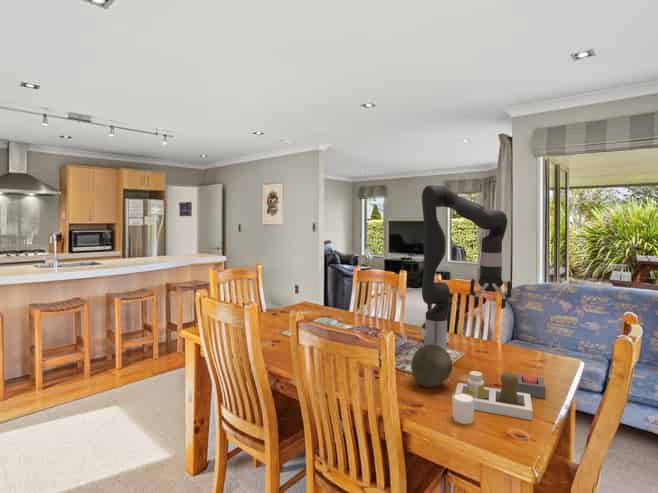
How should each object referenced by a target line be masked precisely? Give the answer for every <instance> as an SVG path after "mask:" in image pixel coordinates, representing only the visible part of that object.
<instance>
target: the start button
mask: <svg viewBox="0 0 658 493" xmlns="http://www.w3.org/2000/svg"><path fill="white" fill-rule="evenodd" d="M535 377H536V376H535ZM535 377H533V375H528V376H523V382H526V383H533V384H537V378H535Z"/></svg>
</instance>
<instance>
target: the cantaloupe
mask: <svg viewBox="0 0 658 493" xmlns="http://www.w3.org/2000/svg"><path fill="white" fill-rule="evenodd" d="M410 366H411V367H410V368H411V372H412V375H413V378H414V380H415V381H416V382H417V383H419V385H421V386H424V387H427V388H434V387H437V386H440V385H441V384H443V383H445V381H446V380H447V379H448V378H449V376H450V374H451V373H452V369H453V361H452V358H451V355H450V354H449V353H448V352H447V350H446V351H445V350H444V349H443V348H441V347H440V346H437V345H433V344H429V345H424V344H423V346H420V347H419V348H418V349H417V350H416V351H415V352H414V354H413V357H412V359H411V365H410Z"/></svg>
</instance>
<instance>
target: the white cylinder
mask: <svg viewBox="0 0 658 493" xmlns="http://www.w3.org/2000/svg"><path fill="white" fill-rule="evenodd" d="M451 402H452V403H451V404H452V406H451V407H452V416H453V418H454V419H453V421H455V422H456V423H458V422H459V424H461V423H462V425H470V424H472V423H473V422H474V413H475V410H474V407H475V398H474V397H473V396H472V395H469V394H465V393H453V394H452V395H451ZM469 423H470V424H469Z"/></svg>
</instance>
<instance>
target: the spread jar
mask: <svg viewBox="0 0 658 493" xmlns="http://www.w3.org/2000/svg"><path fill="white" fill-rule="evenodd" d="M425 319H426V318H424V320H425ZM420 331H421V332H420V334H421V340H422V341H423V342H424V336H425V322H423V324H421V330H420ZM448 343H450V339H449V335H448V334H447V344H448Z"/></svg>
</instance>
